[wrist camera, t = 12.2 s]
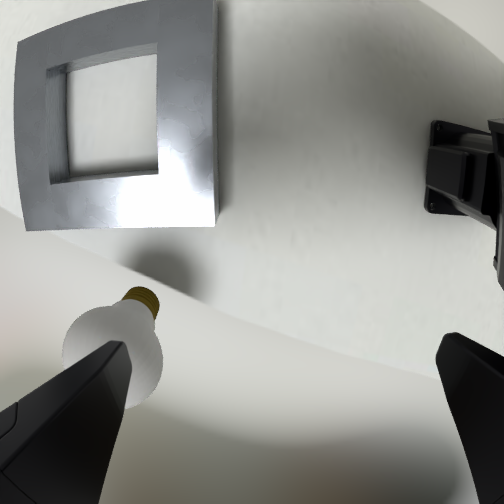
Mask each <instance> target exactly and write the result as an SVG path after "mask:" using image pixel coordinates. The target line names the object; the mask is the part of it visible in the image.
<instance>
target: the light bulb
mask: <svg viewBox="0 0 504 504" xmlns="http://www.w3.org/2000/svg"><path fill="white" fill-rule="evenodd" d="M158 311H159V301H158V298H157V297H156V295H155V294H154V293H153V292H152V291H151V290H149V289H147V288H145V287H139V286H138V287H133V288H131V289H130V290H129V291H128V292H127V293H126V295H125V296H124V297H123V298H122V300H121V301H119V302H117V303H115V304H113V305H112V306H106V307H99V308H94V309H92V310H89V311H87V312H85V313H84V314H82V315H81V316H80V317H79V318H77V319H76V320H75V321H74V323H73V324H72V325H71V327H70V328H69V330H68V332H67V334H66V337H65V339H64V342H63V349H62V359H63V366H64V370H65V369H67V368H68V367H70V366H72V365H73V364H75V363H76V362H78V361H79V360H81V359H82V358H84V357H85V356H87V355H88V354H90V353H91V352H93V351H94V350H96V349H97V348H99V347H100V346H102V345H104V344H105V343H107V342H108V341H110V340H117V341H123V342H125V344H126V346H127V349H128V352H129V356H130V359H131V362H132V374H131V379H130V384H129V389H128V394H127V399H126V404H125V409H126V408H130V407H133V406H135V405H138V404H139V403H141V402H143V401H144V400H145V399H146V398H148V397H149V396H150V395H151V393H152V392H153V391H154V390H155V388H156V386H157V384H158V382H159V380H160V377H161V373H162V368H163V355H162V350H161V346H160V343H159V340H158V338H157V336H156V334H155V332H154V330H155V319H156V316H157V313H158Z"/></svg>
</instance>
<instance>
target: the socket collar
mask: <svg viewBox="0 0 504 504" xmlns="http://www.w3.org/2000/svg"><path fill="white" fill-rule="evenodd" d="M217 50H218V4H217V1H216V0H146V1H141V2H136V3H132V4H127V5H123V6H119V7H115V8H111V9H107V10H103V11H100V12H96V13H93V14H90V15H86V16H83V17H80V18H77V19H74V20H71V21H68V22H65V23H63V24H60V25H57V26H55V27H52V28H50V29H47V30H45V31H42V32H40V33H37V34H35V35H33V36H30V37H28V38H26V39H24V40H22V41H19V42H18V45H17V54H16V65H15V80H14V139H15V155H16V166H17V176H18V184H19V192H20V199H21V205H22V211H23V217H24V222H25V227H26V231H42V230H66V229H94V228H128V227H179V226H215V224H216V222H217V219H218V216H219V183H218V127H217ZM151 54H157V142H158V164H159V169H158V170H143V171H129V172H118V173H107V174H97V175H88V176H79V177H71V178H70V176H69V165H68V152H67V135H66V73H68V72H72V71H75V70H79V69H83V68H87V67H91V66H95V65H99V64H103V63H108V62H112V61H117V60H122V59H127V58H133V57H139V56H145V55H151Z"/></svg>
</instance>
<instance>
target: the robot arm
mask: <svg viewBox="0 0 504 504" xmlns="http://www.w3.org/2000/svg"><path fill="white" fill-rule="evenodd" d="M437 125H439V127H440V129H439V130H438V129H437ZM488 126H489V130H491V134H490V133H487V132H483V131H480V130H476V129H473V128H469V127H465V126H461V125H457V124H453V123H449V122H445V121H440V120H434V121H433V122H432V123H431V137H430V148H429V152H428V165H427V176H426V185H427V187H426V196H425V204H424V207H425V210H426V211H427V212H429V213H433V214H448V215H461V216H470V217H472V218H474V219H476V220H478V221H480V222H481V223H483V224H485V225H487V226H489V227H490V228H492V229H494V230H496V231H497V232H496V253H495V256H494V261H493V266H494V268H495V269H496V271H497V277H498V282H499V284H500V285H501V287H502V289H503V290H504V119H493V120H488ZM431 203H433V206H432V208H430V204H431ZM436 365H437V368H438V371H439V375H440V378H441V381H442V385H443V388H444V392H445V395H446V399H447V402H448V405H449V408H450V411H451V413H452V416H453V419H454V421H455V424H456V427H457V430H458V433H459V435H460V439H461V441H462V444H463V447H464V451H465V454H466V457H467V460H468V463H469V467H470V470H471V473H472V477H473V481H474V484H475V488H476V492H477V496H478V500H479V504H504V357H503V356H501V355H500V354H498V353H496V352H494V351H492V350H490V349H488V348H486V347H484V346H483V345H481V344H479V343H477V342H475V341H473V340H471V339H469V338H467V337H465V336H463V335H462V334H460V333H457V332H453V333H447V334H445V335H444V336H443V338H442V341H441V344H440V346H439V349H438V351H437V354H436ZM131 374H132V362H131V359H130V356H129V352H128V349H127V346H126V344H125V342H123V341H117V340H110V341H108V342H107V343H105V344H104V345H102V346H100V347H99V348H97V349H96V350H94V351H93V352H91V353H90V354H88V355H87V356H85V357H84V358H82V359H81V360H79V361H78V362H76V363H75V364H73V365H72V366H70V367H68V368H67V369H65V370H64V371H63V372H61V373H60V374H58V375H56V376H55V377H53V378H52V379H50V380H49V381H47V382H46V383H44V384H43V385H41V386H40V387H38V388H37V389H35V390H34V391H32V392H31V393H29V394H27V395H26V396H24V397H23V398H21V399H20V400H19V401H18V402H15V403H14V404H12V405H11V406H9V407H8V408H6V409H5V410H3V411H2V412H0V504H98V503H99V499H100V495H101V492H102V488H103V484H104V480H105V476H106V473H107V469H108V466H109V462H110V459H111V455H112V451H113V448H114V445H115V442H116V438H117V435H118V432H119V428H120V425H121V422H122V418H123V414H124V409H125V404H126V399H127V394H128V389H129V384H130V379H131Z"/></svg>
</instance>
